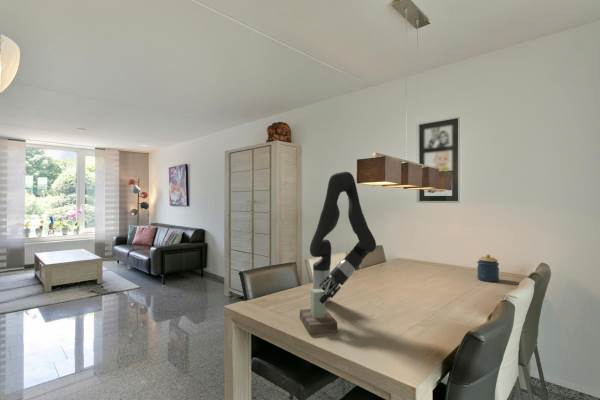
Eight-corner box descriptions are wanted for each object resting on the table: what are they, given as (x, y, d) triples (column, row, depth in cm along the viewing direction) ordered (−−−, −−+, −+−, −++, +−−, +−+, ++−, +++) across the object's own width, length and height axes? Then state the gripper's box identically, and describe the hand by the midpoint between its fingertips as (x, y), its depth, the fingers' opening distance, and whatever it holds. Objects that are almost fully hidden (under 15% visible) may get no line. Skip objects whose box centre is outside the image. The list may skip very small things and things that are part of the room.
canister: (479, 281, 208) (479, 255, 209) (475, 277, 221) (475, 252, 221) (502, 283, 205) (501, 256, 205) (495, 278, 217) (495, 253, 217)
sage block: (310, 314, 137) (310, 289, 138) (321, 313, 139) (321, 288, 139) (313, 318, 133) (313, 292, 133) (324, 317, 134) (324, 291, 134)
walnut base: (299, 318, 143) (299, 309, 143) (324, 316, 146) (324, 307, 146) (309, 334, 125) (309, 324, 125) (337, 331, 128) (337, 322, 128)
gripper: (332, 263, 145) (308, 289, 142) (342, 269, 131) (316, 298, 128) (342, 273, 146) (319, 299, 143) (354, 281, 132) (328, 310, 129)
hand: (318, 299), depth 136 cm, fingers open, 8 cm apart
